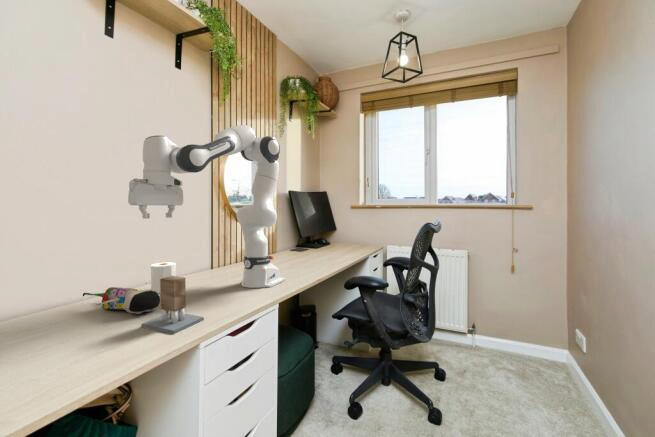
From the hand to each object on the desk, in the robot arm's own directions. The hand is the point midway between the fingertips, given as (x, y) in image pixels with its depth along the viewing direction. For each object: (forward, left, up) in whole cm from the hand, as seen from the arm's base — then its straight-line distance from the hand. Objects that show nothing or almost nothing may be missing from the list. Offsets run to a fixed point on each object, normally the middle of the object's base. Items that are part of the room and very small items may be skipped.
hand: (158, 218), depth 110 cm
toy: (+6, -12, -34) cm, 37 cm away
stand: (+5, +17, -34) cm, 38 cm away
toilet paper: (-15, -23, -34) cm, 44 cm away
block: (+5, +17, -29) cm, 34 cm away
